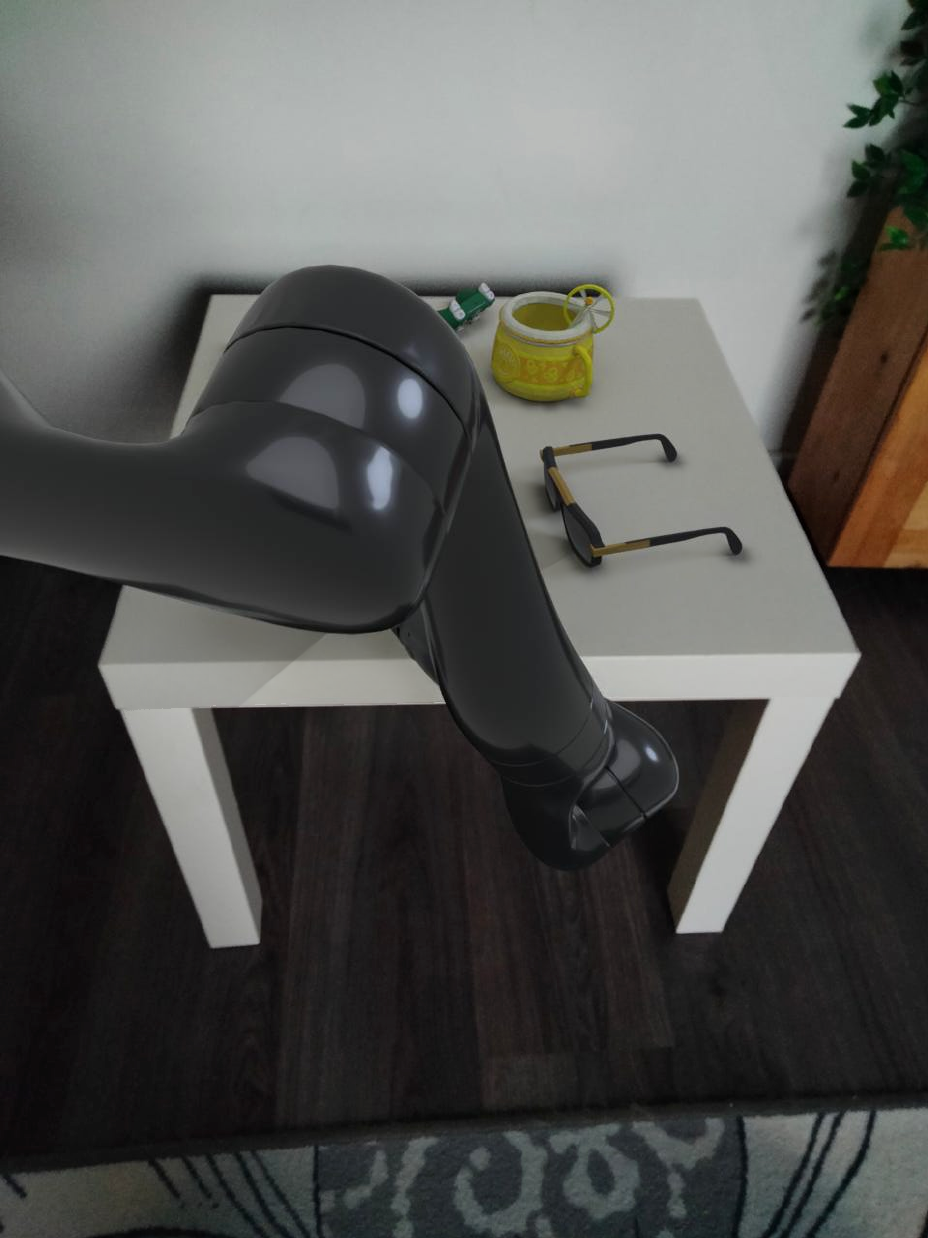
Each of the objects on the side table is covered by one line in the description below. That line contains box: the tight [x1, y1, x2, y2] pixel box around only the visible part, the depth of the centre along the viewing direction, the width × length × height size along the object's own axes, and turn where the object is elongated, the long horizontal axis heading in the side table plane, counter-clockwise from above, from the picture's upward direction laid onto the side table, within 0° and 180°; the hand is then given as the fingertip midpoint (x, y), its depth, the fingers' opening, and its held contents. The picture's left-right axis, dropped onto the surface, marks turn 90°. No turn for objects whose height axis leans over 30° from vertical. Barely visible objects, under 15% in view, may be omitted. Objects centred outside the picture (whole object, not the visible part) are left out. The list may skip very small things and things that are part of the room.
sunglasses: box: [539, 433, 743, 568], centre depth 80 cm, size 14×15×5 cm
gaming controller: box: [436, 282, 496, 334], centre depth 103 cm, size 9×4×6 cm
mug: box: [490, 283, 616, 402], centre depth 91 cm, size 13×11×12 cm
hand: (341, 490), depth 73 cm, fingers closed on cup, 6 cm apart
